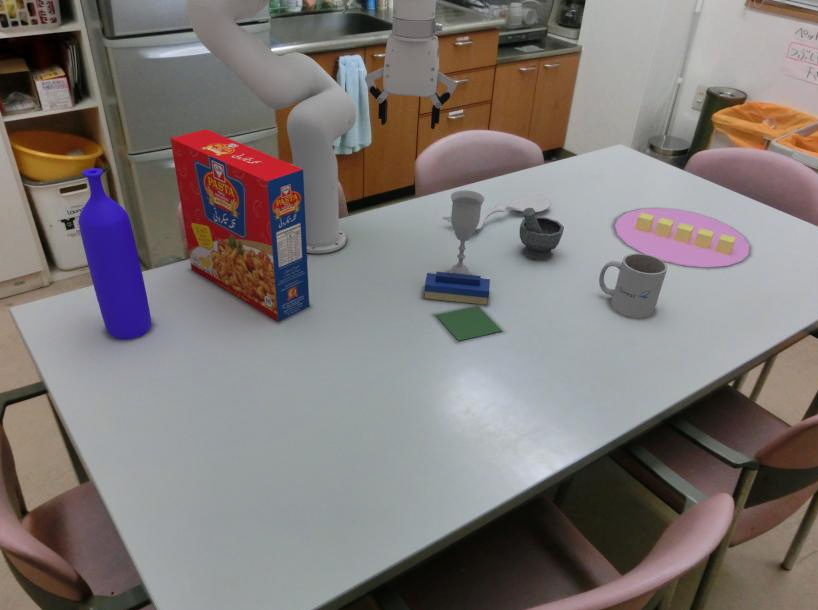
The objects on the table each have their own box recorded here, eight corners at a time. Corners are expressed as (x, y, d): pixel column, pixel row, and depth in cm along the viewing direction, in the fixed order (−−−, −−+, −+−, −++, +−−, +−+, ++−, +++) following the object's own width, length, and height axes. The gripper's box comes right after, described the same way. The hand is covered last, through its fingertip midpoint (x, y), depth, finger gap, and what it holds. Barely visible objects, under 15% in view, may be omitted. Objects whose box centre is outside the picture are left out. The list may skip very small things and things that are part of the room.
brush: (423, 299, 140) (425, 278, 137) (426, 286, 144) (427, 266, 141) (487, 305, 139) (490, 285, 136) (487, 293, 143) (490, 272, 140)
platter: (734, 281, 152) (739, 268, 150) (596, 241, 165) (599, 228, 163) (760, 231, 174) (765, 218, 172) (637, 198, 187) (640, 187, 185)
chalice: (441, 268, 151) (448, 190, 140) (471, 268, 151) (481, 190, 141) (445, 285, 145) (453, 204, 134) (477, 285, 146) (487, 205, 135)
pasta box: (191, 270, 145) (170, 138, 128) (222, 257, 150) (206, 129, 133) (278, 322, 131) (266, 181, 114) (309, 306, 136) (303, 169, 119)
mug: (661, 308, 142) (675, 265, 135) (639, 323, 137) (653, 279, 131) (610, 284, 148) (621, 242, 142) (588, 298, 143) (598, 255, 137)
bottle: (162, 321, 129) (131, 166, 111) (134, 345, 123) (96, 184, 105) (125, 312, 131) (88, 158, 113) (96, 334, 125) (52, 175, 107)
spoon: (440, 227, 167) (441, 214, 165) (531, 199, 183) (533, 186, 181) (465, 241, 162) (467, 228, 159) (556, 211, 178) (559, 198, 176)
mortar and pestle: (538, 240, 164) (547, 192, 157) (566, 256, 158) (577, 207, 151) (503, 251, 159) (510, 202, 151) (530, 268, 153) (539, 218, 145)
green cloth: (458, 341, 129) (458, 340, 129) (435, 315, 135) (436, 314, 135) (501, 331, 132) (501, 330, 132) (478, 306, 139) (478, 306, 139)
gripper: (462, 27, 125) (454, 122, 136) (368, 20, 126) (367, 115, 137) (460, 36, 119) (451, 135, 130) (362, 28, 120) (361, 127, 131)
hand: (408, 124), depth 133 cm, fingers open, 9 cm apart
